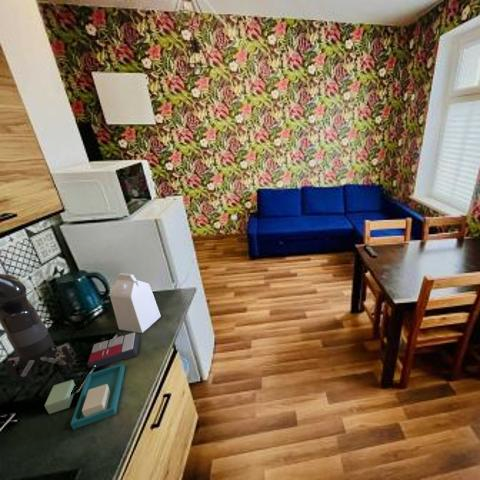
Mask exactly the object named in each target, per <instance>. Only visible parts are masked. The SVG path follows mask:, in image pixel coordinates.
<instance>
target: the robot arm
mask: <svg viewBox="0 0 480 480" xmlns="http://www.w3.org/2000/svg"><path fill="white" fill-rule="evenodd" d="M27 292H28V291H27V287H26V285H25V283H23V282H22V281H21V280H20V279H18V278H17V277H16V275H15V276H14V275H12V274H8V273H0V325H1V327H2V329H3V331H4V332H5V335H6V338H7V341H8V342H9V344H10V345H11V347H12V348H13V350H14V351H15V354H16V355H17V356H15V355H12V356H10V357H9V358H8V359H7V361H6V362H5V367H6V368H7V371H8V372H9V375H10V377H11V378H14V379H15V378H17V377H22V378H23V379H24V381H25V383H27V384H29V385H34V384H35V382H36V381H37V377H36V375H35V373H34V371H33V370H31V368H32V367H39V366H42V365H46V364H50V363H51V364H55V365H56V364H58V365H61V368H62V370H63V372H64V373H65V375H68V374H70V373H71V371H72V369H73V364H72V362H74V360H75V357H76V355H77V354H76V352H75V350H74V349H73V347H72V346H71V344H70V342H68V341H67V342H64V344H61V345H58V346H57V345H56V344H55V343H54V340H53V338H52V337H51V336H52V335H51V334H50V332H49V330H48V327H46V324H45V323H44V322H43V320H42V319H41V317H40V315H39V313H38V311H37V310H36V308H35V307H34V305H33V304H32V303H31V302H30V301H29V299H28V297H27ZM19 363H22V364H25V365H26V366H25V367H24V368H21V366H20V364H19Z"/></svg>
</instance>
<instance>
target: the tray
mask: <svg viewBox="0 0 480 480" xmlns="http://www.w3.org/2000/svg"><path fill="white" fill-rule="evenodd" d="M125 370H126V367H125V365H124V363H121V364H116V365H113V366H111V367H106V368H103V369H101V370H96V371H93V372H90V373H87V376H86V378H85V380H84V384H83V386H82V388H81V389H82V390H81V393H80V396H79V397H78V401H77V404H76V407H75V409H74V412H73V416H72V418H71V421H70V427H71V428H72V430H76V429H79V428H83V427H84V426H87V425H90V424H92V423H93V424H94V423H95V422H98V421H101V420H104V419H106V418H109V417H113V416H114V415H117V411H118V406H119V400H120V395H121V390H122V385H123V380H124V375H125ZM105 384H107V385H108V387H109V389H110V397H109V401H108V405H107V409H106V410H104V411H101V412H98V413H95V414H92V415H90V416H87V417H84V415H83V413H82V409H83V406H84V402H85V399H86V396H87V393H88V390H89V389H93V388H96V387H99V386H102V385H105Z"/></svg>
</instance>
